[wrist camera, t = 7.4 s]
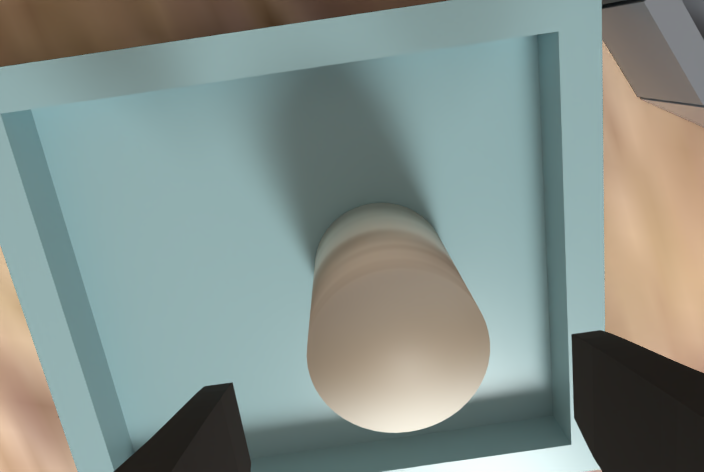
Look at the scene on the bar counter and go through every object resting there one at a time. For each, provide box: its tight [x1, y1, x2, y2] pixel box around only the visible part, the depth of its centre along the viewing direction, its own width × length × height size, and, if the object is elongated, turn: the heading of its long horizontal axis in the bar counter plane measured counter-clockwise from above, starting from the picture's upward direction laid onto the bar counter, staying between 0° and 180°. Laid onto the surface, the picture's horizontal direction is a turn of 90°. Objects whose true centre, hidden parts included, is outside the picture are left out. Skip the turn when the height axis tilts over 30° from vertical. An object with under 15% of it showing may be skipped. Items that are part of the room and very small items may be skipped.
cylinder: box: [307, 203, 490, 433], centre depth 17 cm, size 4×4×6 cm
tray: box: [0, 0, 605, 472], centre depth 19 cm, size 16×18×2 cm
